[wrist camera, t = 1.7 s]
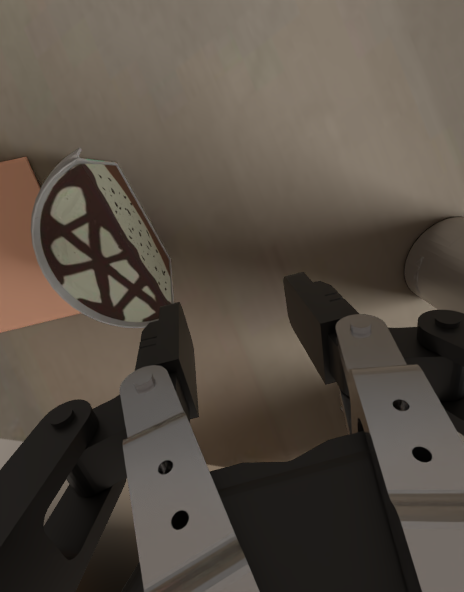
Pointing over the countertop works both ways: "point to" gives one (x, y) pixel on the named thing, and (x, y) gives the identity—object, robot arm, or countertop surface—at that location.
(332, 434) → the countertop surface
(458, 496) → the robot arm
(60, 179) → the food container
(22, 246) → the plate
